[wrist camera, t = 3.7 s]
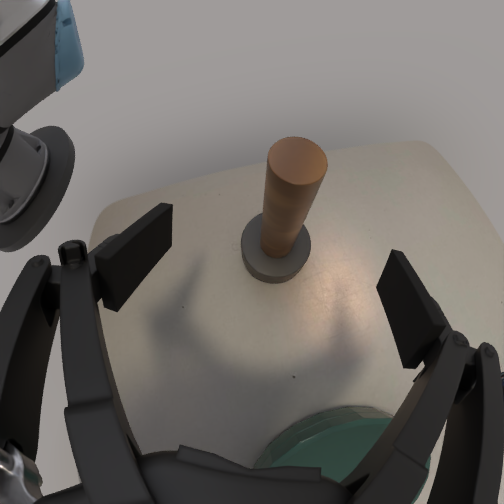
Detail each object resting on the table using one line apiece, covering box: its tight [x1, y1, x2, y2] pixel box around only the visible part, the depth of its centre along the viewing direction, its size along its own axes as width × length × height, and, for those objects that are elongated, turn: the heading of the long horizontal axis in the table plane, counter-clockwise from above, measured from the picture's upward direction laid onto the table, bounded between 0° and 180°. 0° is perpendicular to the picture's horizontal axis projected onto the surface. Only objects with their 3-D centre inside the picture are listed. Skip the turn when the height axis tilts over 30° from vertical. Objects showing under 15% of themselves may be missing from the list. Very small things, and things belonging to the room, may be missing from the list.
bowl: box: [253, 407, 431, 504], centre depth 17 cm, size 17×17×5 cm
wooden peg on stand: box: [241, 137, 328, 283], centre depth 19 cm, size 6×6×15 cm
